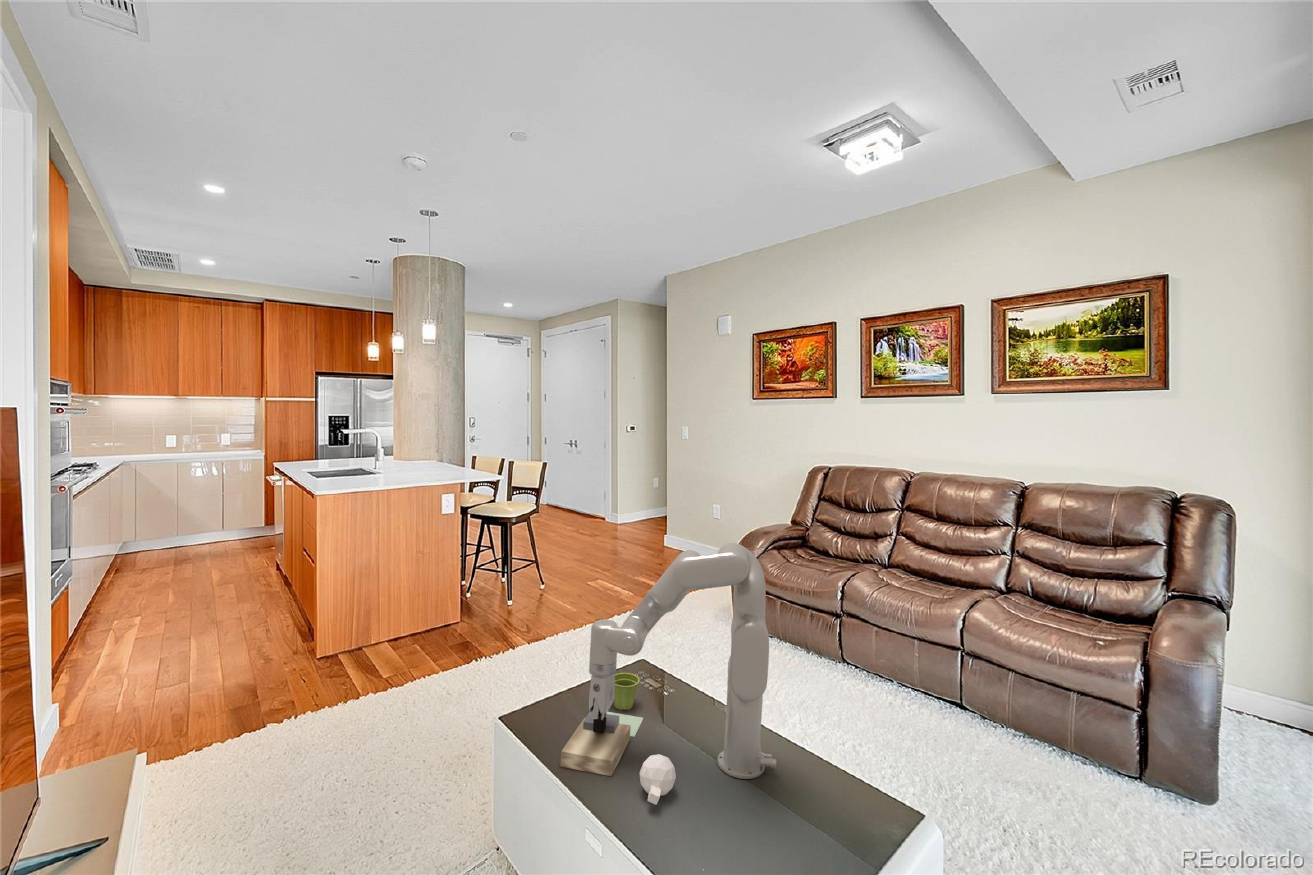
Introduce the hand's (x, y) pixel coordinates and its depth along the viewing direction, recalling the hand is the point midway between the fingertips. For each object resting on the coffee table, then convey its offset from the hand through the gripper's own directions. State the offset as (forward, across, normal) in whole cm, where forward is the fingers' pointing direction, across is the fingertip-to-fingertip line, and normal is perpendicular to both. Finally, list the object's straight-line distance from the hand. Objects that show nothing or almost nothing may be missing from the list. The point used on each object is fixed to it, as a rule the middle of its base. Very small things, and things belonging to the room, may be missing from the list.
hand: (599, 731), depth 156 cm
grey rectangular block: (+1, +5, +1) cm, 5 cm away
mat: (+5, +14, 0) cm, 15 cm away
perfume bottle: (+5, -15, -19) cm, 25 cm away
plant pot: (+5, +25, 0) cm, 26 cm away
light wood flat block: (+5, -2, 0) cm, 5 cm away
